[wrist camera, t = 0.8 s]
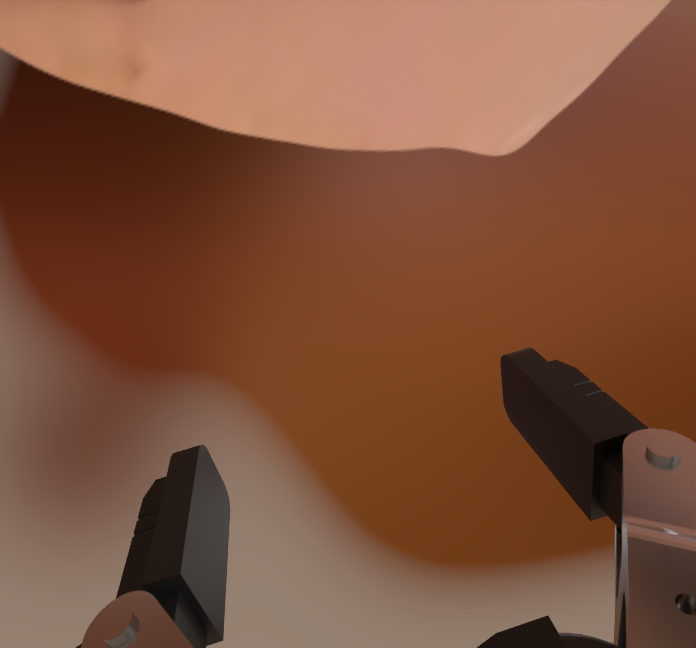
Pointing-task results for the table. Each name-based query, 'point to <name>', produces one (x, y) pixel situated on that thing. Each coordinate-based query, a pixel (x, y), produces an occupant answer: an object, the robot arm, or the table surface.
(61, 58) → the table surface
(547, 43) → the table surface
